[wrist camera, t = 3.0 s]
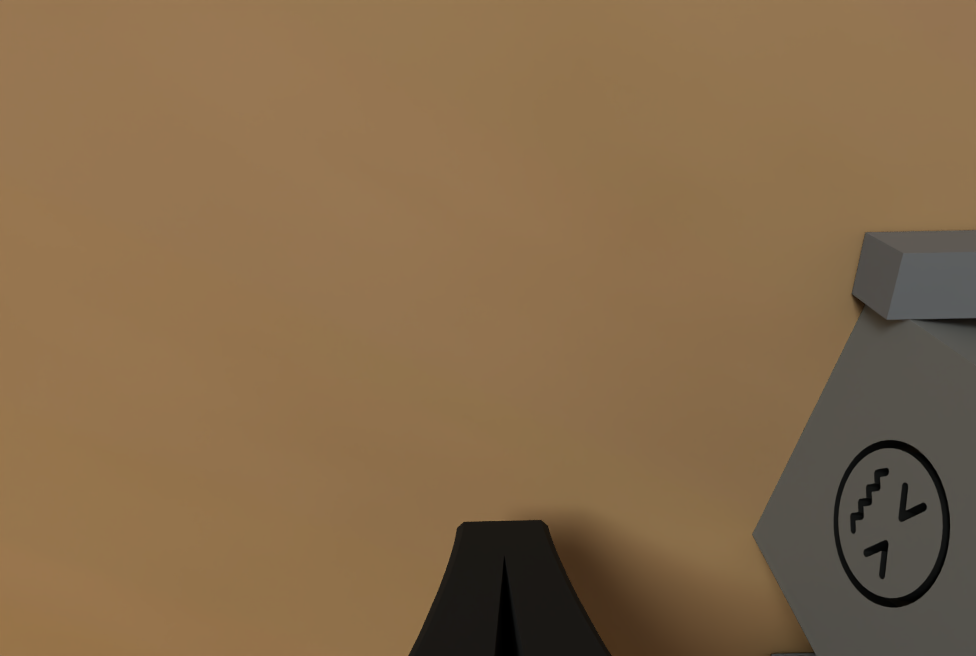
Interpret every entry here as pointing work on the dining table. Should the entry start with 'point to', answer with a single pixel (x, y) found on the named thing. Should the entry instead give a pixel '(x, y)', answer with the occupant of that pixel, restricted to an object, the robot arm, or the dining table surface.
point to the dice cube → (884, 496)
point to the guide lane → (917, 278)
